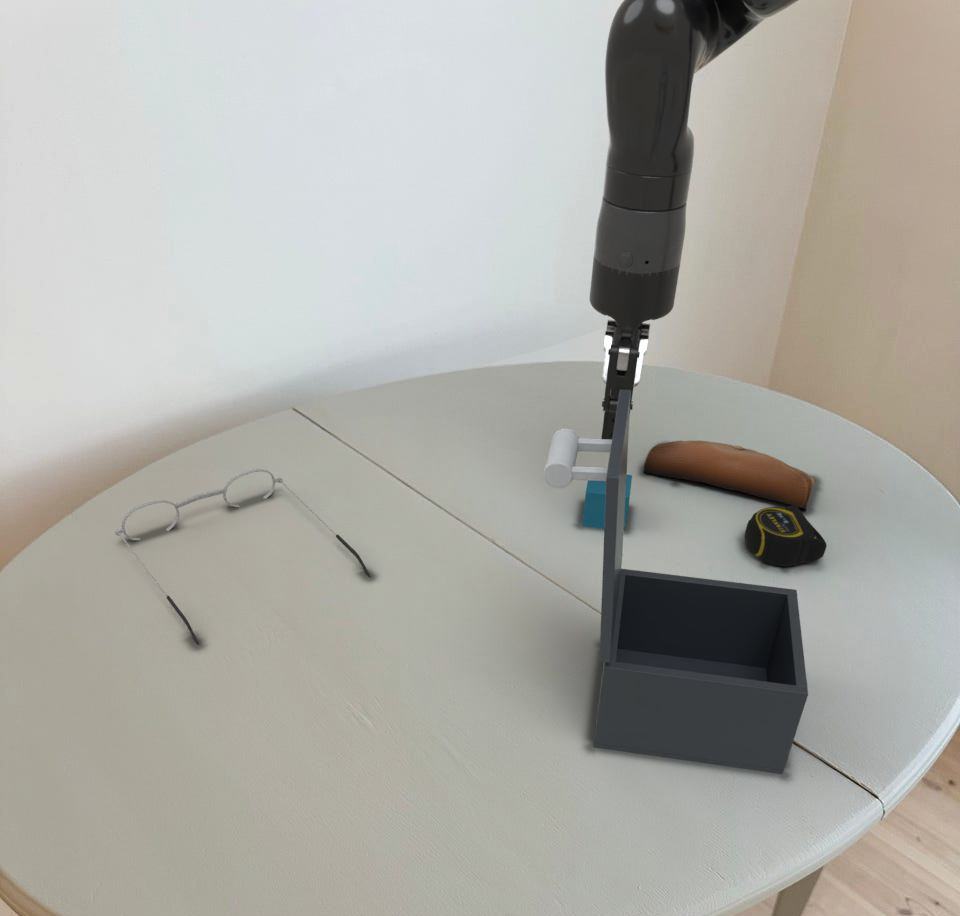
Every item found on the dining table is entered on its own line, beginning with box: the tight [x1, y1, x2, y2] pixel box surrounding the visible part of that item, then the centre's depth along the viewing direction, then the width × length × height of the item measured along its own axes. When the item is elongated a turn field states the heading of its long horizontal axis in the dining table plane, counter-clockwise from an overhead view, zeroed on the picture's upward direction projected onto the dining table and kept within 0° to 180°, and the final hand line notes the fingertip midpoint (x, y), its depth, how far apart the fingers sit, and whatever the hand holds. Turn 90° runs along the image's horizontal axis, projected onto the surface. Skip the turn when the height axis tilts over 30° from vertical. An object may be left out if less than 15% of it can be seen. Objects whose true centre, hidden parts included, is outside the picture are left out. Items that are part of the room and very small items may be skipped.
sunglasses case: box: [643, 440, 816, 512], centre depth 109 cm, size 18×7×7 cm
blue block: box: [581, 474, 633, 532], centre depth 102 cm, size 4×4×4 cm
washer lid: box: [542, 390, 631, 663], centre depth 72 cm, size 15×13×5 cm
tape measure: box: [744, 505, 827, 567], centre depth 98 cm, size 7×7×4 cm
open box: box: [592, 568, 809, 775], centre depth 79 cm, size 15×13×9 cm
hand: (615, 422), depth 96 cm, fingers open, 8 cm apart
